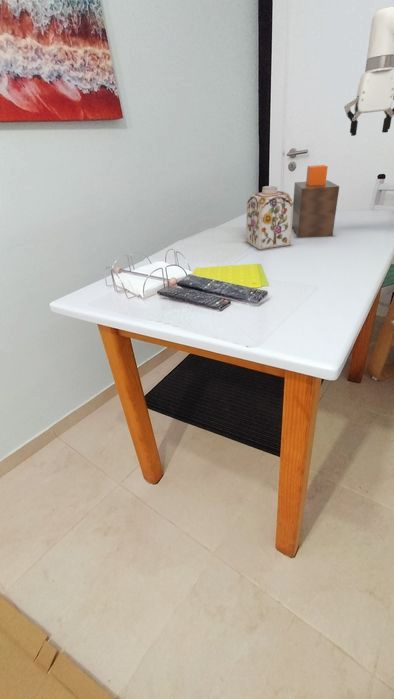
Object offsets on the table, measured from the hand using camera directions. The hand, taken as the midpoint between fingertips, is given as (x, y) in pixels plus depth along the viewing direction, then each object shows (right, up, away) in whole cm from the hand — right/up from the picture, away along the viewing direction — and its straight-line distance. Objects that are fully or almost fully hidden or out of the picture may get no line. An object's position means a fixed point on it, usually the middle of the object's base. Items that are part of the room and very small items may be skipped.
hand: (369, 134), depth 109 cm
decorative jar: (-31, -33, +8) cm, 46 cm away
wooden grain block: (-13, -25, +18) cm, 34 cm away
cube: (-14, -12, +9) cm, 21 cm away
